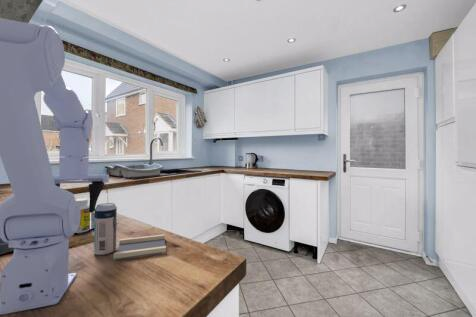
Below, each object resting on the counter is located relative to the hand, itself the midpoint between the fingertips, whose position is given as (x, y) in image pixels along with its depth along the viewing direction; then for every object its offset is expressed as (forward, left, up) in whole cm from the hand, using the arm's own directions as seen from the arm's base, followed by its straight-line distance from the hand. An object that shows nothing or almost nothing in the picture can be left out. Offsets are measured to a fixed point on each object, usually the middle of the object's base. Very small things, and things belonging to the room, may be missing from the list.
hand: (73, 212), depth 53 cm
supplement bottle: (+20, +4, -10) cm, 23 cm away
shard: (+10, +3, -11) cm, 15 cm away
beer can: (-1, -7, -10) cm, 13 cm away
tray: (-2, -16, -10) cm, 19 cm away
